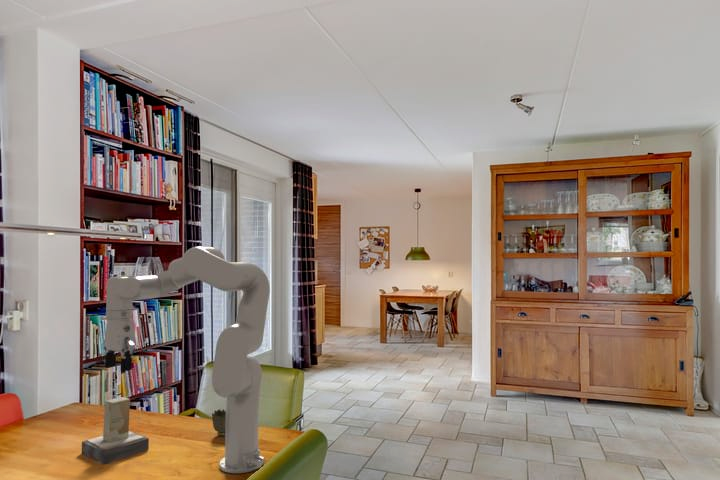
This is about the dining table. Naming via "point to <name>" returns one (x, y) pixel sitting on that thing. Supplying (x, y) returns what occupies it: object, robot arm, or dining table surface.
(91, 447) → the plinth
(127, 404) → the skincare box
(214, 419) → the cup
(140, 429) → the dining table surface
